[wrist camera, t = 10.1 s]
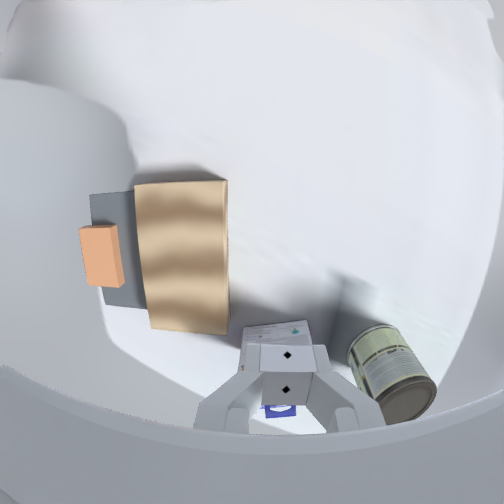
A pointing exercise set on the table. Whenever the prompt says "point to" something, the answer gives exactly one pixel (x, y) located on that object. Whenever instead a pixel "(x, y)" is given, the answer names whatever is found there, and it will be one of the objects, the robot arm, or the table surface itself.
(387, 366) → the coffee can
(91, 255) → the block
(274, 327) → the ink cartridge box
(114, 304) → the mat
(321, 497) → the robot arm
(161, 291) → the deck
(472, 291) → the table surface
